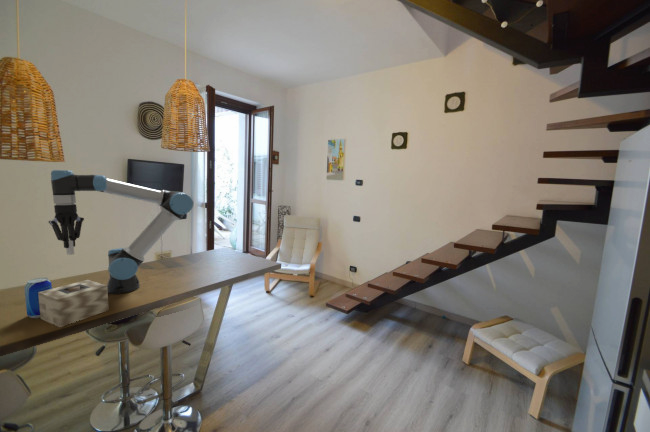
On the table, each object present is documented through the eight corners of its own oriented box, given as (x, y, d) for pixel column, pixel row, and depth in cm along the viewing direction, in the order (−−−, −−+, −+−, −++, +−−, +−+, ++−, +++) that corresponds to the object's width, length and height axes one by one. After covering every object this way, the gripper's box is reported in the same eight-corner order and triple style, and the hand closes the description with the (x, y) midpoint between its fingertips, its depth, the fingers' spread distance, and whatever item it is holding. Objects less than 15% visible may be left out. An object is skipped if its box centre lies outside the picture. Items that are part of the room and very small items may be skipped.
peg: (83, 310, 128) (81, 287, 127) (72, 314, 124) (71, 290, 123) (78, 308, 130) (76, 285, 128) (67, 312, 126) (65, 288, 125)
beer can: (33, 320, 121) (30, 284, 119) (23, 316, 124) (19, 281, 122) (58, 312, 128) (55, 278, 127) (47, 308, 132) (44, 275, 130)
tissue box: (89, 303, 139) (87, 279, 137) (108, 310, 132) (107, 285, 131) (40, 318, 122) (38, 292, 121) (60, 327, 116) (58, 299, 114)
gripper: (76, 202, 137) (81, 250, 140) (42, 205, 124) (48, 256, 128) (86, 203, 134) (91, 251, 137) (53, 205, 122) (59, 258, 125)
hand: (70, 254), depth 132 cm, fingers closed
